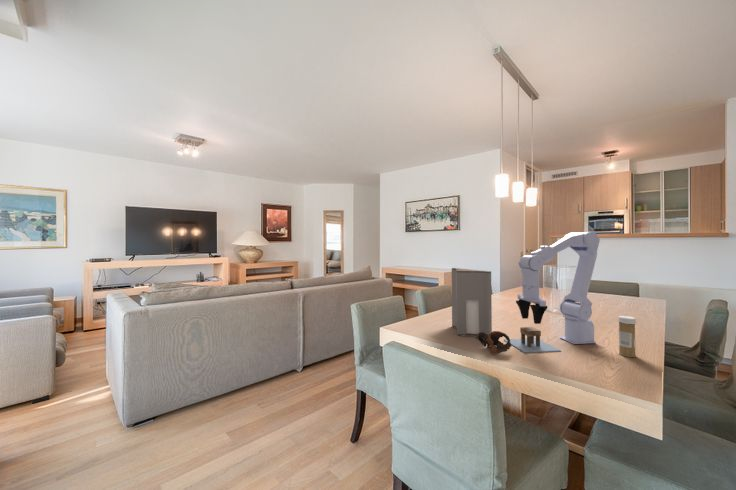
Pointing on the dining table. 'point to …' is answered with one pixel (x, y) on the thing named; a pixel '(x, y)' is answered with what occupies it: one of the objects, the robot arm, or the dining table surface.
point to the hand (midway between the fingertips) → (531, 320)
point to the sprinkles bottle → (627, 336)
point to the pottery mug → (494, 341)
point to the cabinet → (471, 302)
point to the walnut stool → (530, 335)
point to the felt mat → (532, 346)
